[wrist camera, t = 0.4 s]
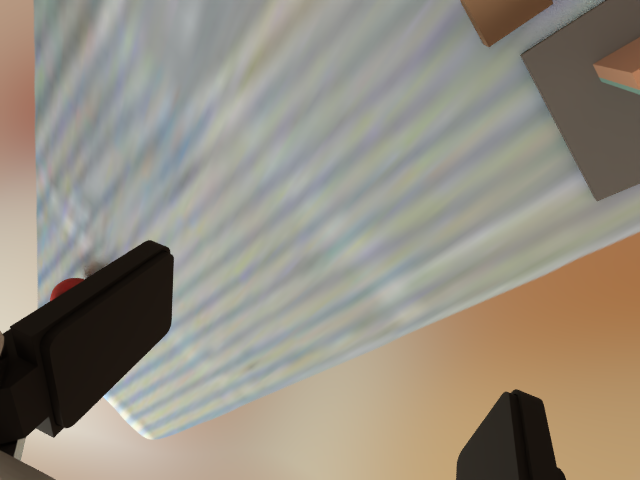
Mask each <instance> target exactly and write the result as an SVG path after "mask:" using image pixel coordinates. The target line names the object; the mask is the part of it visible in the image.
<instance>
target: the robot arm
mask: <svg viewBox="0 0 640 480" xmlns="http://www.w3.org/2000/svg"><path fill="white" fill-rule="evenodd" d="M173 266H174V257H173V255H172V254H170V250H169V248H168V247H166V246H163V245H161V244H158V243H156V242H154V241H151V240H148V241H146V242H144V243H142V244H141V245H139V246H137V247H136V248H134V249H133V250H131V251H129V252H128V253H126V254H125V255H123V256H121V257H120V258H118V259H117V260H115V261H114V262H112V263H110V264H109V265H107V266H106V267H104V268H102V269H101V270H99V271H98V272H96V273H94V274H93V275H91V276H90V277H88V278H87V279H85V280H83V281H82V282H80V283H79V284H77V285H75V286H74V287H72V288H71V289H69V290H67V291H66V292H64V293H63V294H61V295H60V296H58V297H56V298H55V299H53V300H52V301H50V302H48V303H47V304H45V305H44V306H42V307H40V308H39V309H37V310H36V311H34V312H33V313H31V314H30V315H28V316H26V317H25V318H23V319H21V320H20V321H18V322H17V323H15V324H13V325H12V326H10V328H11V329H10V330H8V331H6V332H5V333H3V334H2V333H1V331H0V480H55V479H53V478H52V477H50V476H48V475H46V474H44V473H43V472H41V471H39V470H37V469H35V468H33V467H31V466H29V465H27V464H25V463H23V462H21V461H20V460H21V456H22V452H23V447H24V443H25V438H26V436H27V435H29V434H30V433H31V432H32V431H33V430H34V429H35V428H36V429H39V430H40V431H42V432H44V433H46V434H48V435H49V436H51V437H55V436H56V435H57V434H58V433H59V432H60V431H61V430H62V429H63V428H69V427H71V426H73V425H74V424H75V423H76V422H77V421H78V420H79V419H80V418H81V417H82V416H84V415H85V413H87V412H88V411H89V410H90V409H91V408H92V406H94V405H95V404H96V403H97V402H98V401H99V400H100V399H101V398H102V397H103V396H104V395H105V394H106V393H107V392H108V391H109V390H110V389H111V388H112V387H113V386H114V385H115V384H116V383H117V382H118V381H119V380H120V379H121V378H122V377H123V376H124V375H125V374H126V373H127V372H128V371H129V370H130V369H131V368H132V367H133V366H134V365H135V364H136V363H137V362H139V361H140V360H141V359H142V358H143V357H144V356H145V355H146V354H147V353H148V352H149V351H150V350H151V349H152V348H153V347H154V346H155V345H156V344H157V343H158V342H159V341H160V340H161V339H162V338H163V337H164V336H165V335H166V334H167V332H168V331H169V329H170V326H171V321H172V293H173ZM456 475H457V476H456V477H457V478H456V480H566V478H565V475H564V473H563V472H562V471H561V469H559V468H557V466H556V461H555V456H554V451H553V447H552V442H551V437H550V432H549V427H548V423H547V418H546V413H545V408H544V404H543V401H542V400H541V399H539V398H537V397H534V396H532V395H529V394H527V393H524V392H522V391H520V390H513V392H512V393H509V392H504V393H503V394H502V395H501V397H500V398H499V400H498V401H497V402H496V404H495V405H494V407H493V408H492V409H491V411H490V412H489V413H488V415H487V416H486V418H485V419H484V420H483V422H482V423H481V424H480V426H479V427H478V429H477V430H476V431H475V433H474V434H473V436H472V437H471V438H470V440H469V441H468V443H467V444H466V445H465V447H464V448H463V449H462V451H461V453H460V455H459V457H458V461H457V474H456Z"/></svg>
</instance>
